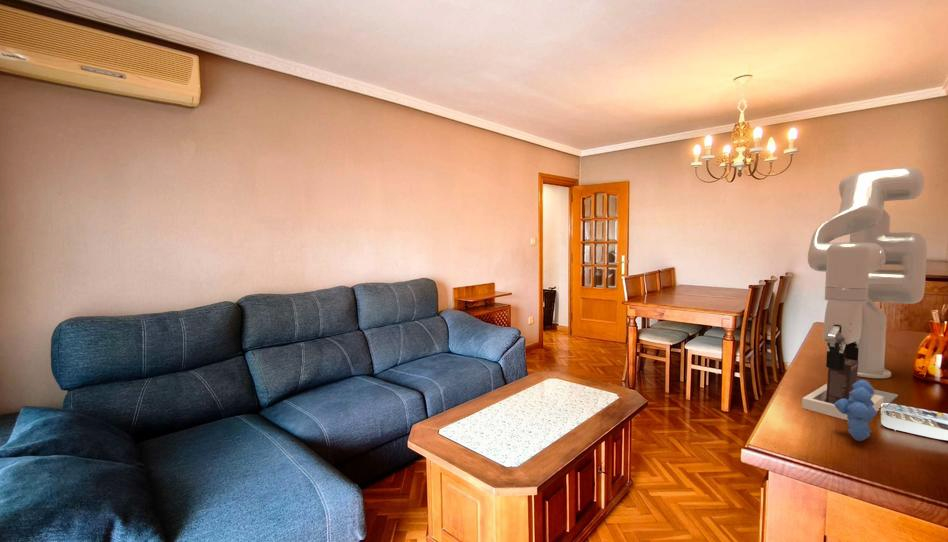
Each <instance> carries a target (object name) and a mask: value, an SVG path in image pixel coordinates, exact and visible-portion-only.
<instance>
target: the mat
mask: <svg viewBox="0 0 948 542" xmlns="http://www.w3.org/2000/svg"><path fill="white" fill-rule="evenodd" d="M874 392H875V393H874V394H872V395H871V396H872V397H873V396H874V395H879V396H884V399H883V403H890V404H891V403H892V402H893V401H895V399H897V398H898V397H899V394H896V393H892V392H888V391H883V390H878V389H874Z"/></svg>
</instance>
